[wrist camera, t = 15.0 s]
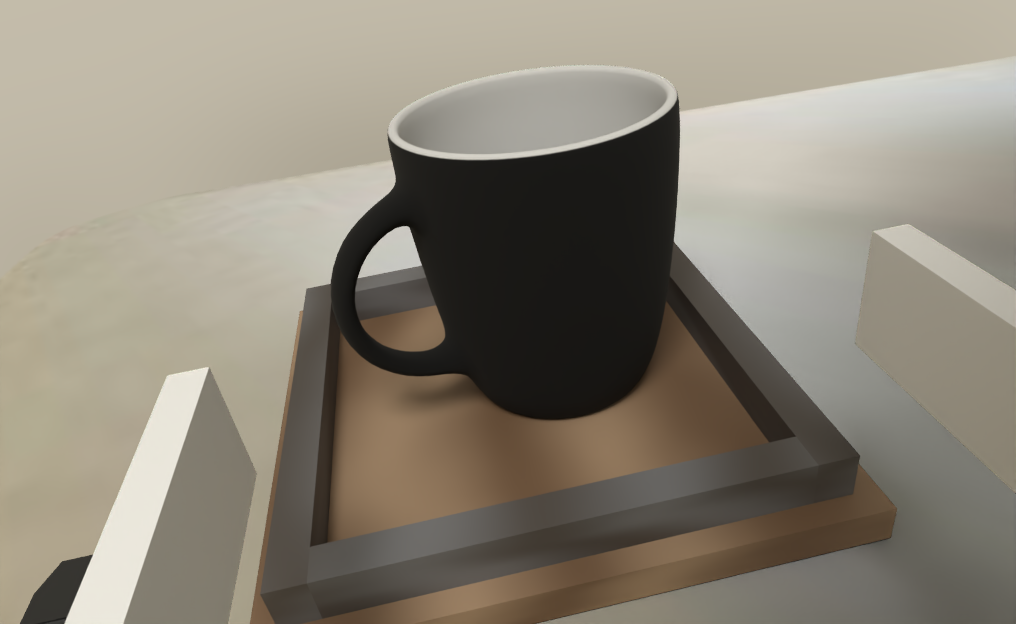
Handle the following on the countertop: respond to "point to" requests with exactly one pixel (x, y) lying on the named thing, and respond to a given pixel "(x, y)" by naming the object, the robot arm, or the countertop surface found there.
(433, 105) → the mug
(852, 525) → the wooden tray
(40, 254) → the countertop surface
